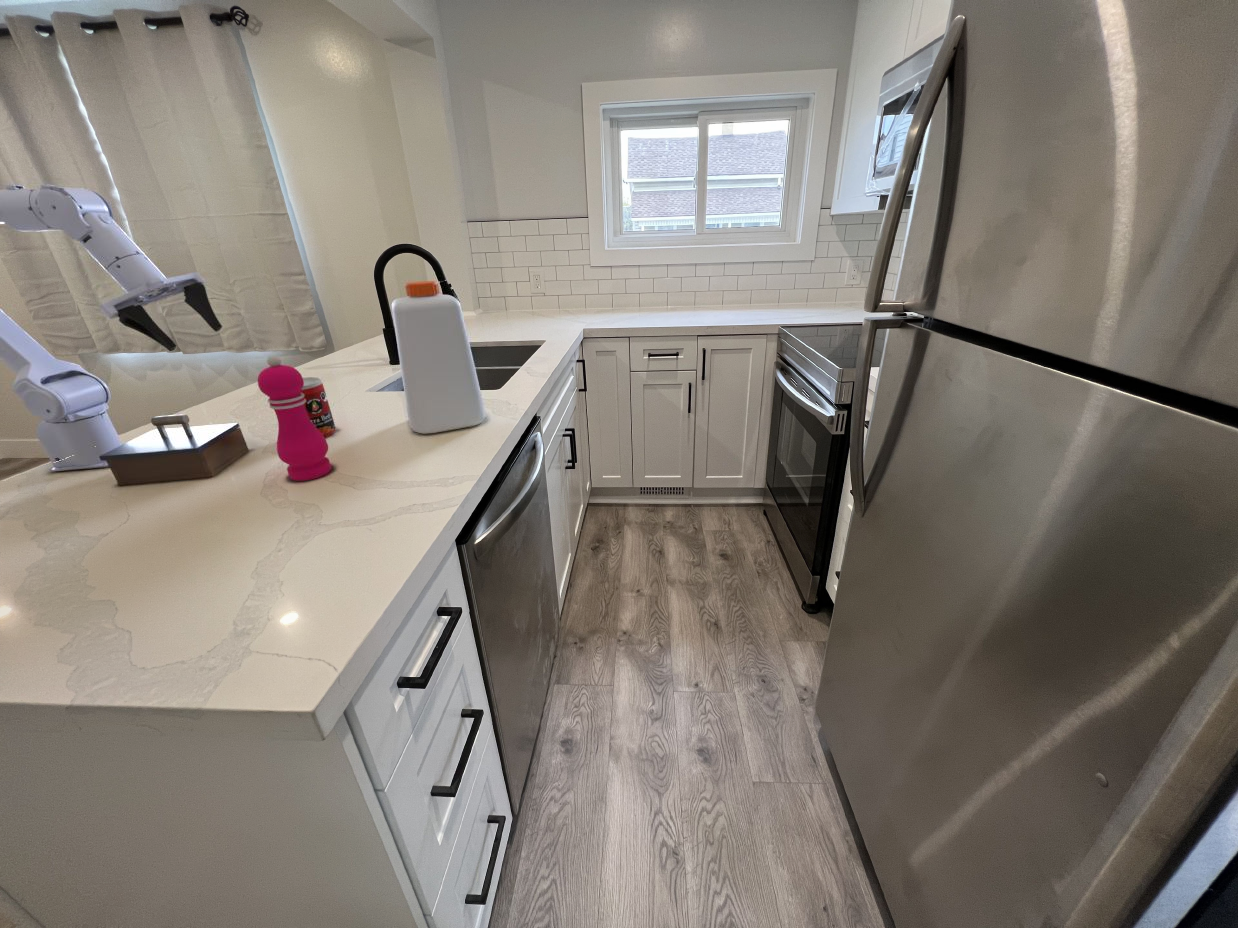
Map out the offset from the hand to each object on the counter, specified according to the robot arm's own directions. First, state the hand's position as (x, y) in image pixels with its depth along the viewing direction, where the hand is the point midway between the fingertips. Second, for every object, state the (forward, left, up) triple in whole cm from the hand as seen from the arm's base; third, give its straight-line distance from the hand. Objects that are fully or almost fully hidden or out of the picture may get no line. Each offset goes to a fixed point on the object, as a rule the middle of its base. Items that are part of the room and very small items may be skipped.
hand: (197, 338), depth 84 cm
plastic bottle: (+36, +10, -22) cm, 43 cm away
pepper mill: (+17, -12, -22) cm, 30 cm away
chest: (-7, -4, -22) cm, 23 cm away
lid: (-7, -4, -17) cm, 19 cm away
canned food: (+10, +8, -22) cm, 25 cm away
